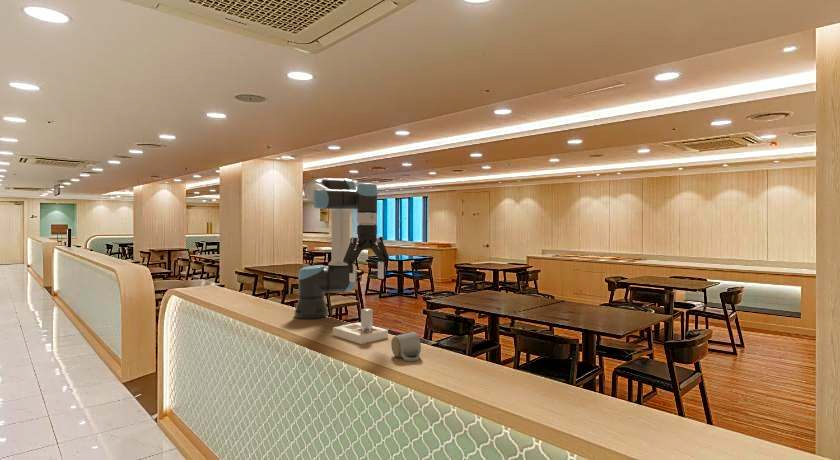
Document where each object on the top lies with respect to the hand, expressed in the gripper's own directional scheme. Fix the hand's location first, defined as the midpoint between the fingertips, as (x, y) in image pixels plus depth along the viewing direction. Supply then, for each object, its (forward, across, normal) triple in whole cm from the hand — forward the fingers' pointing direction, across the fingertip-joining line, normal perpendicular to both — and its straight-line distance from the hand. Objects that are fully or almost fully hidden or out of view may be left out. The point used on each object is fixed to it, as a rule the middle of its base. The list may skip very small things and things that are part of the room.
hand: (366, 280), depth 175 cm
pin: (+22, 0, 0) cm, 22 cm away
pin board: (+22, 0, +4) cm, 23 cm away
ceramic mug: (+22, -5, -28) cm, 36 cm away
